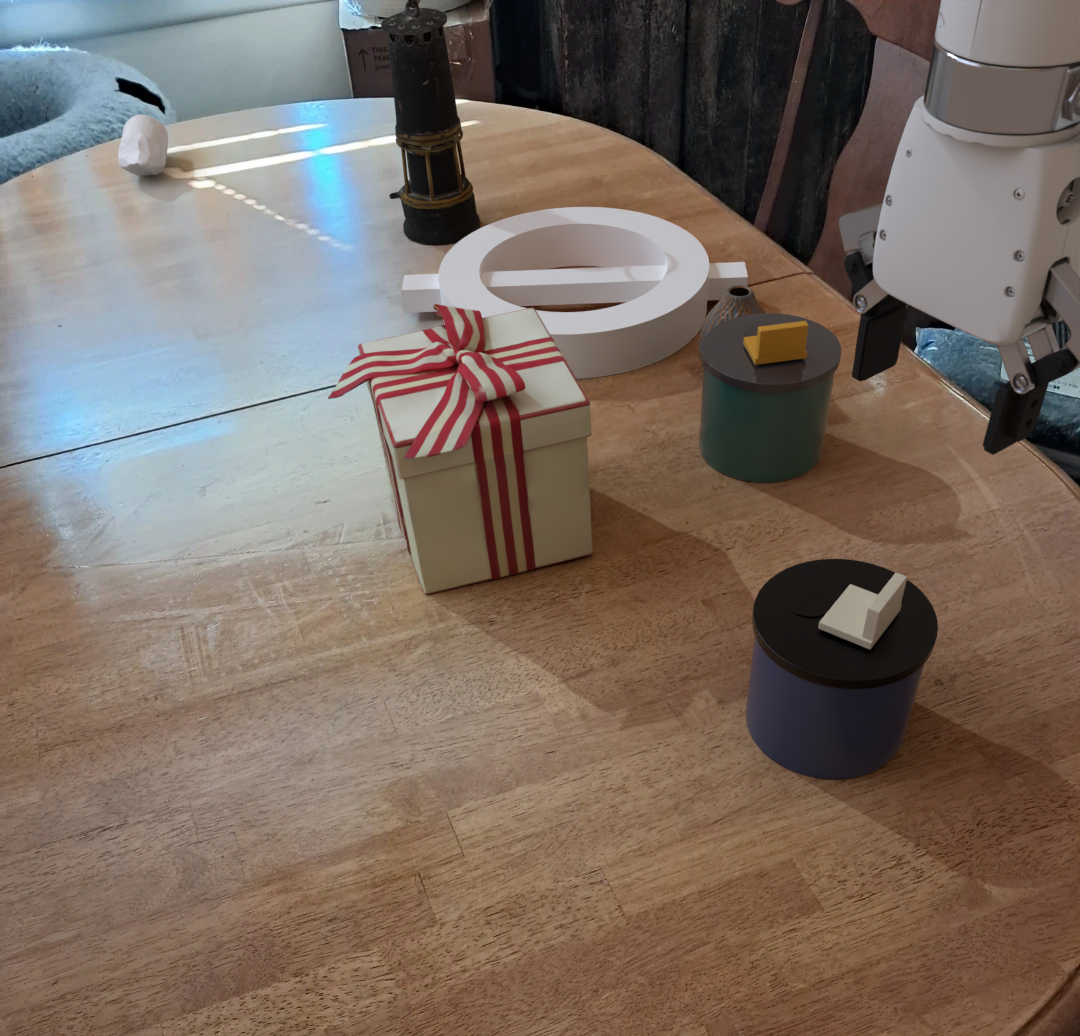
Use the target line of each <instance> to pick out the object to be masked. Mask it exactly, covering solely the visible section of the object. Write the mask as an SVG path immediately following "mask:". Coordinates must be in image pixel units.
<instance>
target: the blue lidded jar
mask: <svg viewBox="0 0 1080 1036" xmlns="http://www.w3.org/2000/svg"><path fill="white" fill-rule="evenodd" d="M895 573H896V571H893V570H891V569H889V568H886V567H883V566H881V565H877V564H875V563H870V562H867V561H862V560H856V559H847V558H822V559H821V558H820V559H814V560H809V561H805V562H804V561H803V562H801V563H798V564H794V565H791V566H789V567H786V568H785V569H782V570H781V571H779V572H777V573H775V575H773V576H772V577H770V578H769V579H768V580H767V581H766V582H765V583H764V584H763V585H762V587H761V588H760V589H759V591H758V592H757V595H756V597H755V600H754V602H753V606H752V607H753V608H752V618H751V623H752V624H751V625H752V631H753V634H754V639H753V646H752V647H753V648H752V655H751V664H750V673H749V674H750V675H749V681H748V690H747V699H746V708H745V722H746V726H747V730H748V733H749V734H750V736H751V738H752V740H753V741H754V743H755V745H756V746H757V747H758V748H759V749H760V750H761V752H763V754H764V755H766V756H767V757H768V758H769V759H771V760H772V761H773V762H775V763H776V764H778V765H780V766H781V767H783V768H785V769H787V770H789V771H792V772H794V773H796V774H800V775H803V776H806V777H810V778H815V779H823V780H846V779H853V778H857V777H861V776H865V775H868V774H871V773H873V772H875V771H878V770H880V769H882V767H884V766H885V765H887V764H888V763H889V762H890V761H891V760H893V759H894V757H895V756H897V754H898V753H899V751H900V749H901V747H902V746H903V743H904V741H905V737H906V733H907V731H908V725H909V722H910V719H911V715H912V711H913V707H914V703H915V701H916V696H917V693H918V689H919V685H920V682H921V677H922V674H923V671H924V666H925V664H926V662H927V661H928V660H929V658H930V657H931V655H932V653H933V651H934V648H935V645H936V642H937V639H938V632H939V623H938V622H939V621H938V616H937V613H936V610H935V608H934V606H933V604H932V603H931V601H930V600H929V598H928V597H927V595H926V594H925V593H924V592H923V591H922V590H921V589H920V588H919V587H918V586H917V585H915V584H914V583H913V582H912V581H910V580H909V579H907V581H906V585H905V589H904V593H903V597H902V602H901V604H902V605H901V610H900V611H899V613H898V614H897V615H896V617H895V618H894V619H893V621H892V622H891V623H890V625H889V626H888V627H887V629H886V630H885V631H884V633H883V634H882V635H881V636H880V638H879V639H878V640H877V642H876V643H875V644H874V646H873V647H872V648H871V649H870V650H869V649H867V648H865V647H862V646H860V645H857V644H855V643H852V642H850V641H847V640H845V639H843V638H840V637H838V636H835V635H833V634H830V633H828V632H825V631H823V630H821V629H819V628H818V626H819V622H820V621H821V619H822V618H823V617H824V616H825V614H826V613H827V612H828V611H829V609H830V608H831V607H832V606H833V605H834V603H835V602H836V601H837V600H838V598H839V597H840V596H841V595H842V594H843V592H844V591H845V590H846V589H847V587H848V586H849V585H850V584H852V585H854V586H857V587H860V588H862V589H865V590H867V591H870V592H872V593H875V594H879V593H880V592H881V591H882V589H883V588H884V587H885V585H886V584H887V583H888V582H889V580H890V579H891V578H892V577H893V575H894V574H895Z"/></svg>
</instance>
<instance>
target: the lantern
mask: <svg viewBox="0 0 1080 1036" xmlns="http://www.w3.org/2000/svg"><path fill="white" fill-rule="evenodd" d="M420 2H421V0H407V2H406V3H405V5H404V11H400V12H397V13H395V14H393V15H390V16H388V17H387V18H385V19H383V20H382V22H380V28H381V30H382V31H383V32H384V33H386V36H387V37H386V38H387V46H388V55H389V62H390V63H389V65H390V74H391V84H392V92H393V93H392V94H393V102H394V111H395V126H394V131H395V137H396V138H395V143H396V145H397V146H398V148H400V151H401V152H400V153H401V162H402V170H403V180H404V185H402V187H401V188H400V189H399V190H398V191H396V192H391V193H389V194H388V197H389V199H391V200H397V199H398V200H399V199H400V203H401V206H402V211H403V217H404V220H403V224H402V228H403V233H404V235H405V237H406V238H407V239H409V240H410V241H412V242H414V243H417V244H420V245H426V246H427V245H428V246H446V245H451V244H456V243H458V242H459V241H460V240H461V239H463V238H464V237H466V236H467V235H469V234H471V233H472V232H474V231H476V230H478V229H480V228H481V219H480V216H479V213H478V212H477V204H476V198H475V197H476V196H475V193H474V186H473V184H472V182H470V181H469V179H468V177H466V170H465V169H466V168H465V163H464V156H463V150H462V145H461V140H462V139H463V138H464V137H463V136H464V132H463V129H462V123H461V119H460V116H459V115H458V114H459V113H458V108H457V102H456V95H455V88H454V82H453V76H452V70H451V65H450V58H449V52H448V46H447V45H448V44H447V41H446V39H447V38H446V33H445V28H444V26H445V25H446V23H448V15H447V14H446V13H444V12H443V11H441V10H440V9H435V8H429V7H420V6H419V5H420Z"/></svg>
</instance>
